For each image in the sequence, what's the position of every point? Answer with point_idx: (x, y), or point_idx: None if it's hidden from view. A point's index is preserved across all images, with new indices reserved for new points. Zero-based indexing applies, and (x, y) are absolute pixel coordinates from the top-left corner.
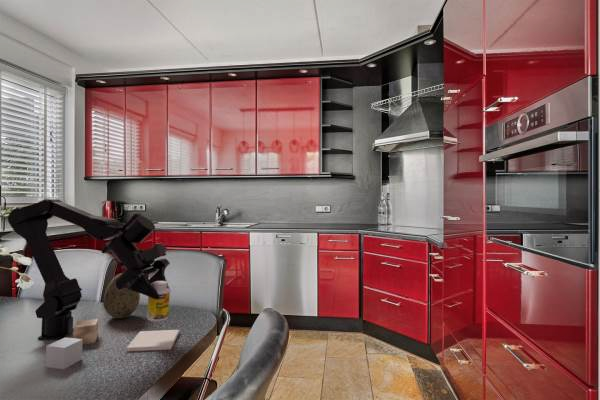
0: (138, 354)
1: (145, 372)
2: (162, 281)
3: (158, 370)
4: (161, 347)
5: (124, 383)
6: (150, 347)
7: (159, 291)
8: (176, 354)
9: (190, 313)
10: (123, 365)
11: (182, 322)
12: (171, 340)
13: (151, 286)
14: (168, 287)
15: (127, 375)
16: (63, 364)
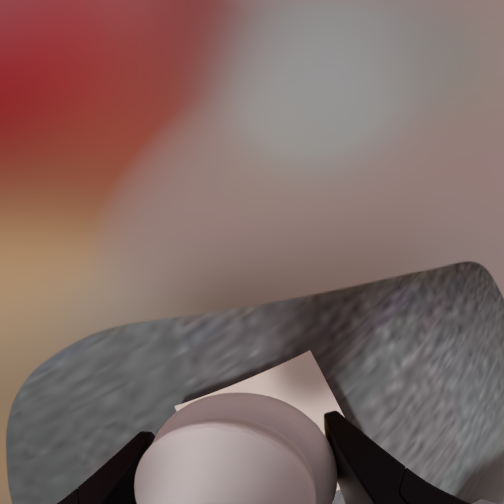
0: (374, 421)
1: (439, 315)
2: (166, 494)
3: (419, 293)
4: (323, 378)
5: (482, 319)
6: (340, 409)
7: (308, 434)
8: (332, 312)
9: (35, 436)
10: (437, 399)
11: (96, 436)
12: (273, 375)
13: (394, 479)
14: (127, 450)
15: (463, 343)
16: (486, 501)
